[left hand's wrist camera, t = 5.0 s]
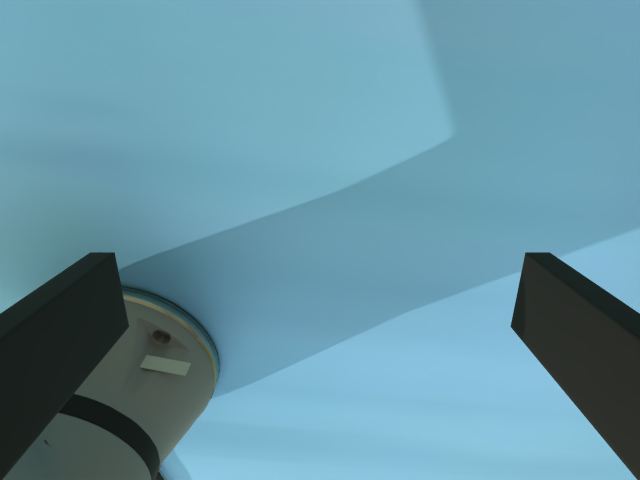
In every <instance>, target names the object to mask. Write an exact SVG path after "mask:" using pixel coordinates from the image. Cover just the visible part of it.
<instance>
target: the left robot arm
mask: <svg viewBox="0 0 640 480" xmlns="http://www.w3.org/2000/svg"><path fill="white" fill-rule="evenodd" d="M511 328H512V329H513V330H514V331H515V333H516V334H517V335H518V336H519V337H520V339H521V340H522V341H523V342H524V343H525V345H526V346H527V347H528V348H529V349H530V351H531V352H532V353H533V354H534V355H535V357H536V358H537V359H538V360H539V361H540V363H541V364H542V365H543V366H544V368H545V369H546V370H547V371H548V372H549V374H550V375H551V376H552V377H553V378H554V380H555V381H556V382H557V383H558V384H559V386H560V387H561V388H562V389H563V390H564V392H565V393H566V394H567V395H568V396H569V398H570V399H571V400H572V401H573V403H574V404H575V405H576V406H577V407H578V409H579V410H580V411H581V412H582V413H583V415H584V416H585V417H586V418H587V419H588V421H589V422H590V423H591V424H592V425H593V427H594V428H595V429H596V430H597V431H598V433H599V434H600V435H601V436H602V438H603V439H604V440H605V441H606V442H607V444H608V445H609V446H610V447H611V448H612V450H613V451H614V452H615V453H616V454H617V456H618V457H619V458H620V459H621V460H622V462H623V463H624V464H625V465H626V466H627V468H628V469H629V470H630V471H631V473H632V474H633V475H634V476H635V477H636V479H637V480H640V314H639V313H638V312H636V311H635V310H633V309H632V308H630V307H629V306H628V305H626V304H625V303H623V302H622V301H620V300H619V299H617V298H616V297H614V296H613V295H611V294H610V293H608V292H607V291H605V290H604V289H602V288H601V287H600V286H598V285H597V284H595V283H594V282H592V281H591V280H589V279H588V278H586V277H585V276H583V275H582V274H580V273H579V272H577V271H576V270H575V269H573V268H572V267H570V266H569V265H567V264H566V263H564V262H563V261H561V260H560V259H558V258H557V257H555V256H554V255H552V254H551V253H525V258H524V263H523V268H522V273H521V278H520V283H519V288H518V293H517V298H516V303H515V308H514V313H513V318H512V323H511ZM218 377H219V359H218V355H217V352H216V349H215V347H214V344H213V343H212V341H211V339H210V338H209V336H208V335H207V333H206V332H205V331H204V329H203V328H202V327H201V326H200V325H199V324H198V323H197V322H196V321H195V320H194V319H193V318H192V317H191V316H189V315H188V314H187V313H186V312H184V311H183V310H181V309H180V308H178V307H177V306H175V305H174V304H172V303H170V302H168V301H166V300H164V299H162V298H160V297H157V296H155V295H152V294H149V293H147V292H143V291H140V290H136V289H131V288H125V287H121V283H120V278H119V273H118V268H117V263H116V258H115V253H89V254H88V255H86V256H85V257H83V258H82V259H80V260H79V261H77V262H76V263H74V264H73V265H71V266H70V267H68V268H67V269H65V270H64V271H63V272H61V273H60V274H58V275H57V276H55V277H54V278H52V279H51V280H49V281H48V282H46V283H45V284H43V285H42V286H40V287H39V288H38V289H36V290H35V291H33V292H32V293H30V294H29V295H27V296H26V297H24V298H23V299H21V300H20V301H18V302H17V303H15V304H14V305H12V306H11V307H10V308H8V309H7V310H5V311H4V312H2V313H1V314H0V480H164V479H163V478H162V476H161V474H160V473H159V469H160V466H161V464H162V462H163V461H164V460H165V458H166V457H167V456H168V455H169V453H170V452H171V451H172V450H173V448H174V447H175V446H176V445H177V443H178V442H179V441H180V440H181V438H182V437H183V436H184V435H185V433H186V432H187V431H188V430H189V428H190V427H191V426H192V424H193V423H194V422H195V420H196V419H197V418H198V417H199V416H200V415H201V413H202V412H203V411H204V409H205V408H206V406H207V404H208V402H209V401H210V399H211V397H212V395H213V392H214V389H215V386H216V384H217V380H218Z"/></svg>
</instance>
